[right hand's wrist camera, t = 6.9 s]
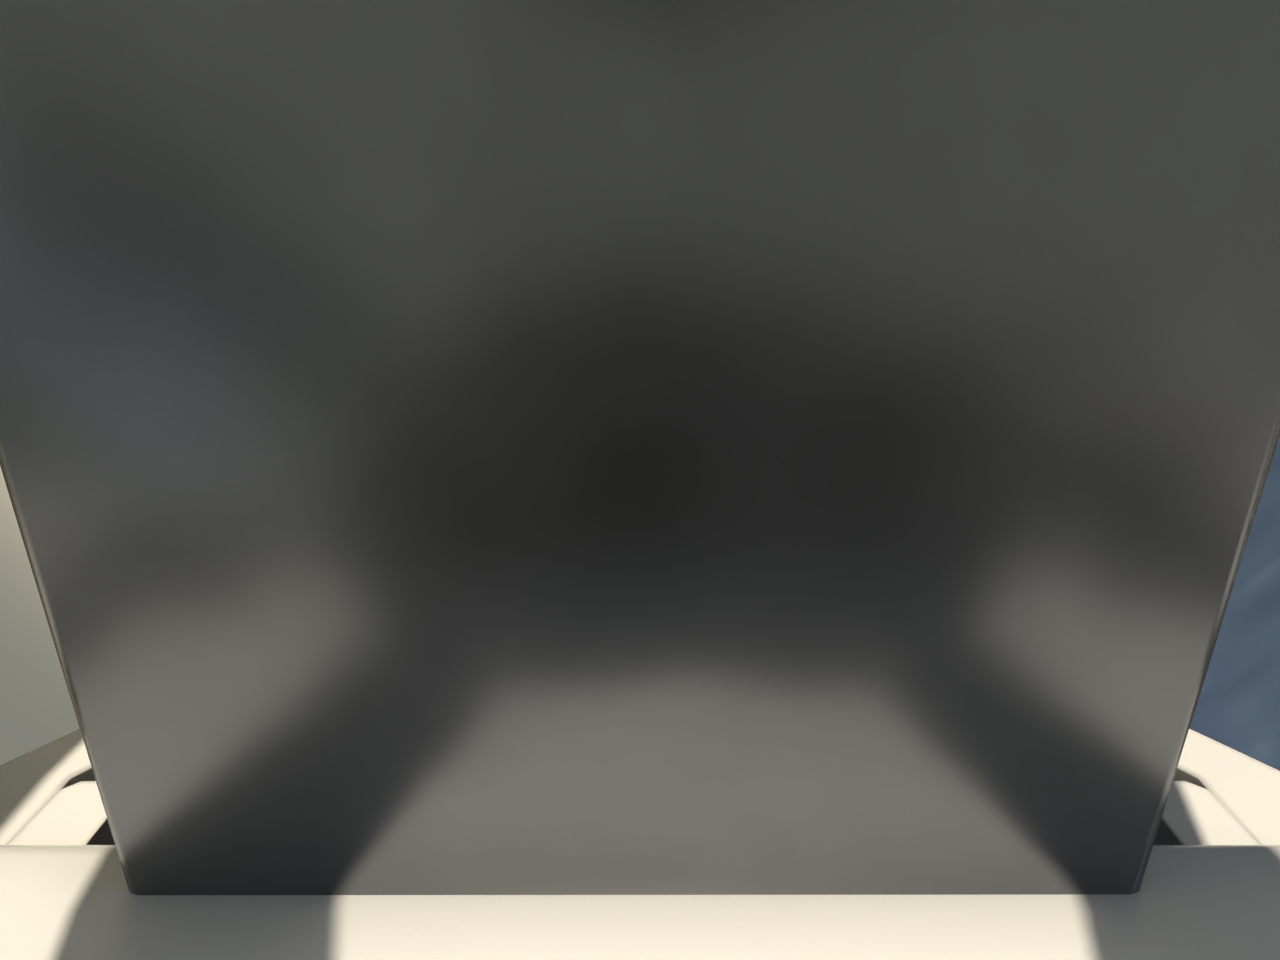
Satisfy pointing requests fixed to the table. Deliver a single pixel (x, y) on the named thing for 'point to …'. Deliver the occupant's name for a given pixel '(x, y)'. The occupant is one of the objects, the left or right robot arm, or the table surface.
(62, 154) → the bar
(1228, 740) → the table surface
